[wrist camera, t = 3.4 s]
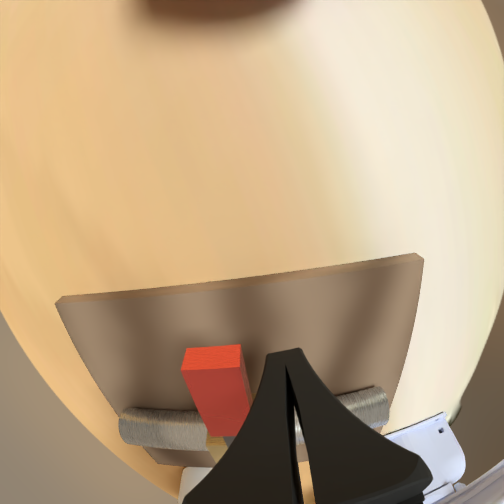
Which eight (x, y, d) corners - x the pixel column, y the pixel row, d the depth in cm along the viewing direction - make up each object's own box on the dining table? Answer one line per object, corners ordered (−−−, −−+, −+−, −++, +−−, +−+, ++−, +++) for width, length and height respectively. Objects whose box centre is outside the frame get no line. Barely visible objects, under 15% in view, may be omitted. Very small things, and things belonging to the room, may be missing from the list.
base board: (415, 252, 14) (424, 258, 13) (372, 437, 20) (374, 445, 20) (62, 296, 14) (54, 303, 14) (159, 456, 21) (157, 463, 20)
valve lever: (272, 466, 13) (273, 481, 12) (234, 468, 13) (234, 483, 12) (246, 343, 9) (246, 366, 8) (181, 348, 9) (174, 370, 8)
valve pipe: (379, 370, 15) (401, 413, 12) (369, 408, 17) (385, 447, 13) (122, 393, 16) (105, 434, 12) (144, 427, 18) (133, 464, 14)
